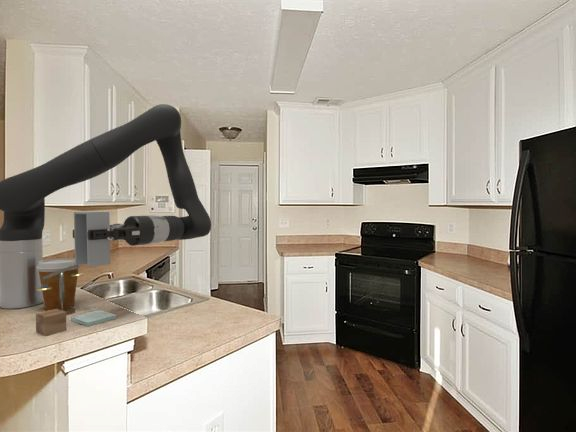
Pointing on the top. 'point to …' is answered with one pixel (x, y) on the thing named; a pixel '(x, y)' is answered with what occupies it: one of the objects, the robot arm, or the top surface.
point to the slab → (93, 318)
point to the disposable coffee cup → (70, 282)
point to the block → (50, 322)
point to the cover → (91, 249)
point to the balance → (61, 287)
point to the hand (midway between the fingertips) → (81, 234)
